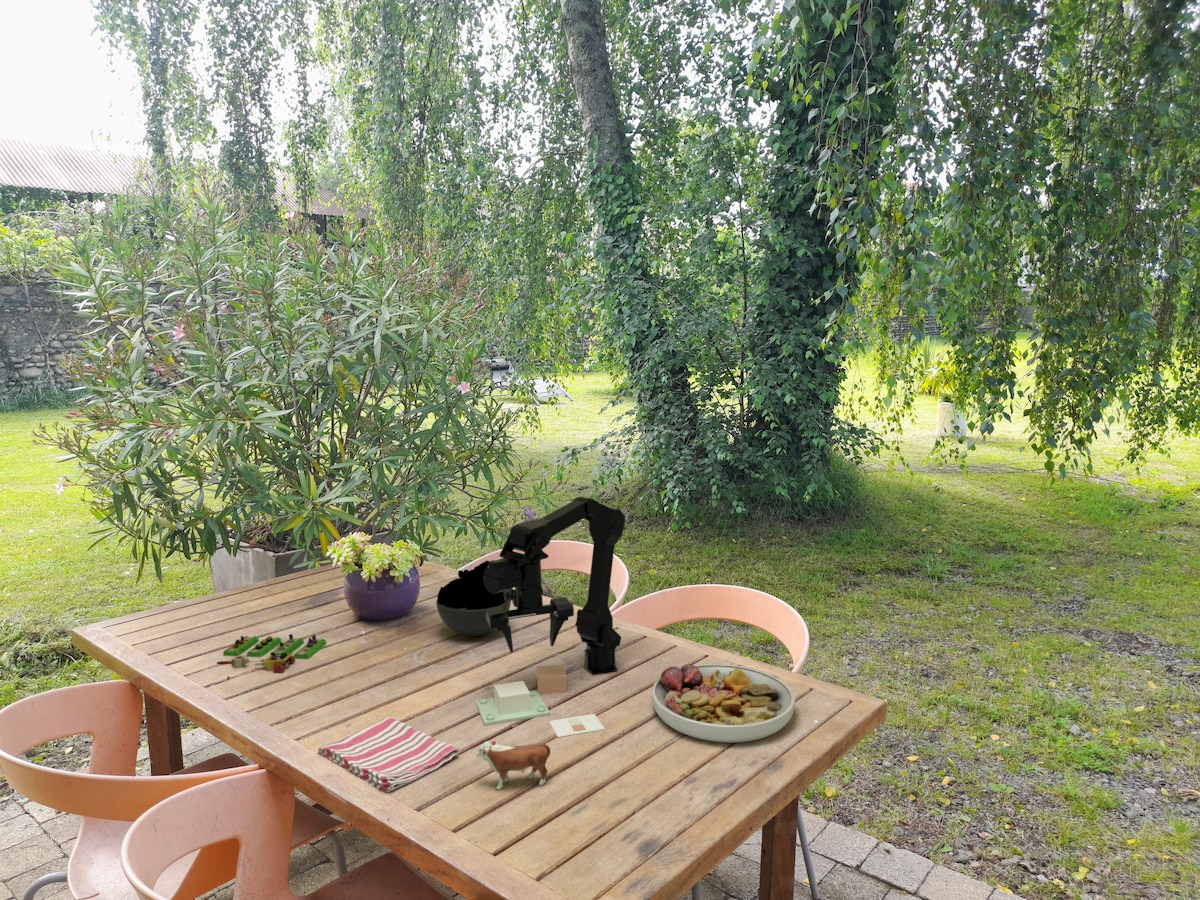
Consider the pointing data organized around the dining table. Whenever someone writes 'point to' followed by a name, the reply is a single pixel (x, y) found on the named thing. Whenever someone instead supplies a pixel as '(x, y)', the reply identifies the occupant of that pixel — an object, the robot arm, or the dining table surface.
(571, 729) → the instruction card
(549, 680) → the terracotta brick
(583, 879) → the dining table surface
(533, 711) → the plate
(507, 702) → the cream brick
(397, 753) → the dish towel
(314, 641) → the toy garden set
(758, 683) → the bowl
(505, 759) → the bull figurine
